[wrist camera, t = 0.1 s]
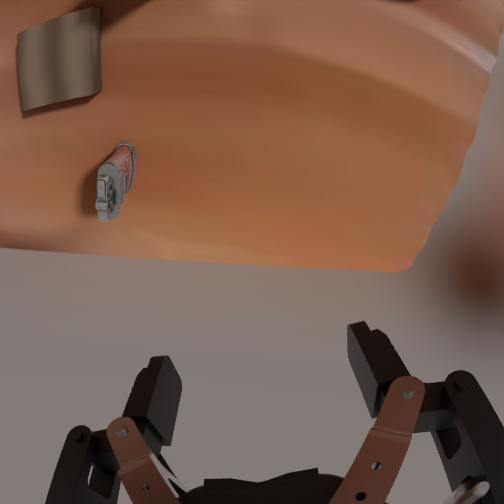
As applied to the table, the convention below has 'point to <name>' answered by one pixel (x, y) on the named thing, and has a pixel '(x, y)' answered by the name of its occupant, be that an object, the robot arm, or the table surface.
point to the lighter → (115, 181)
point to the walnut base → (60, 59)
